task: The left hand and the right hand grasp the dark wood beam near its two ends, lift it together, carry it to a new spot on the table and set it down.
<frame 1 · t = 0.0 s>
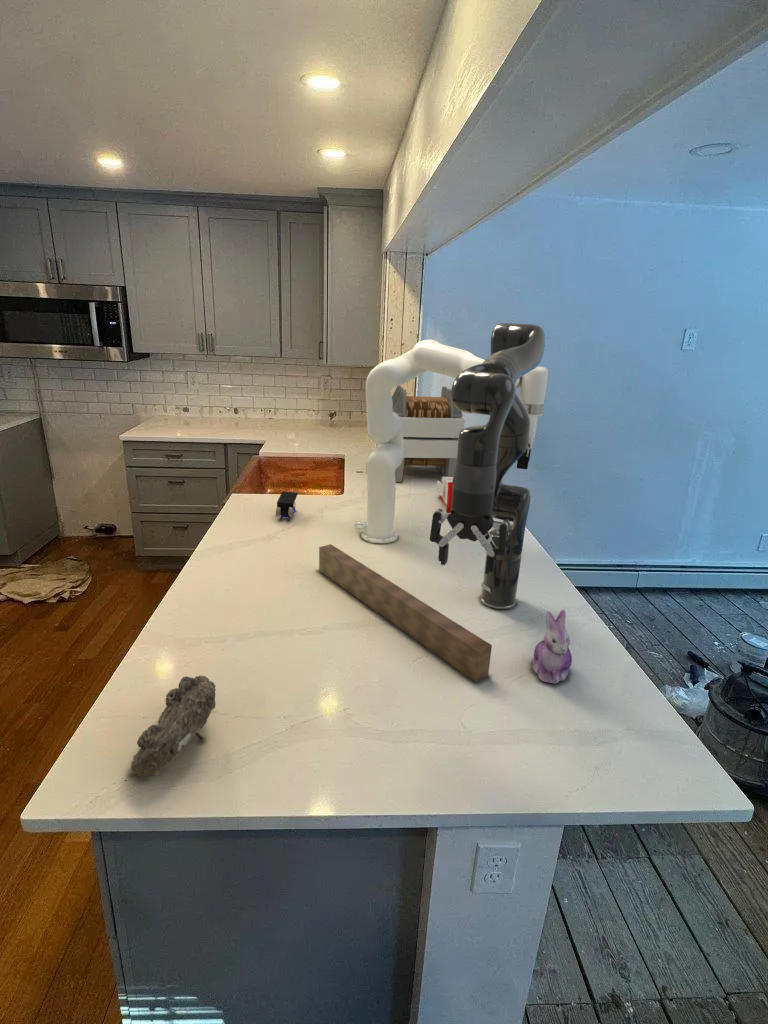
left hand: (523, 464, 174), 31 cm above the counter, tool pointing down, fingers open, 9 cm apart
right hand: (465, 568, 107), 29 cm above the counter, tool pointing down, fingers open, 8 cm apart
toy: (452, 506, 231), on the counter
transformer: (419, 473, 275), on the counter
figurine: (551, 672, 126), on the counter
fossil: (182, 737, 103), on the counter
figurine character: (287, 516, 212), on the counter
beam: (390, 615, 147), on the counter
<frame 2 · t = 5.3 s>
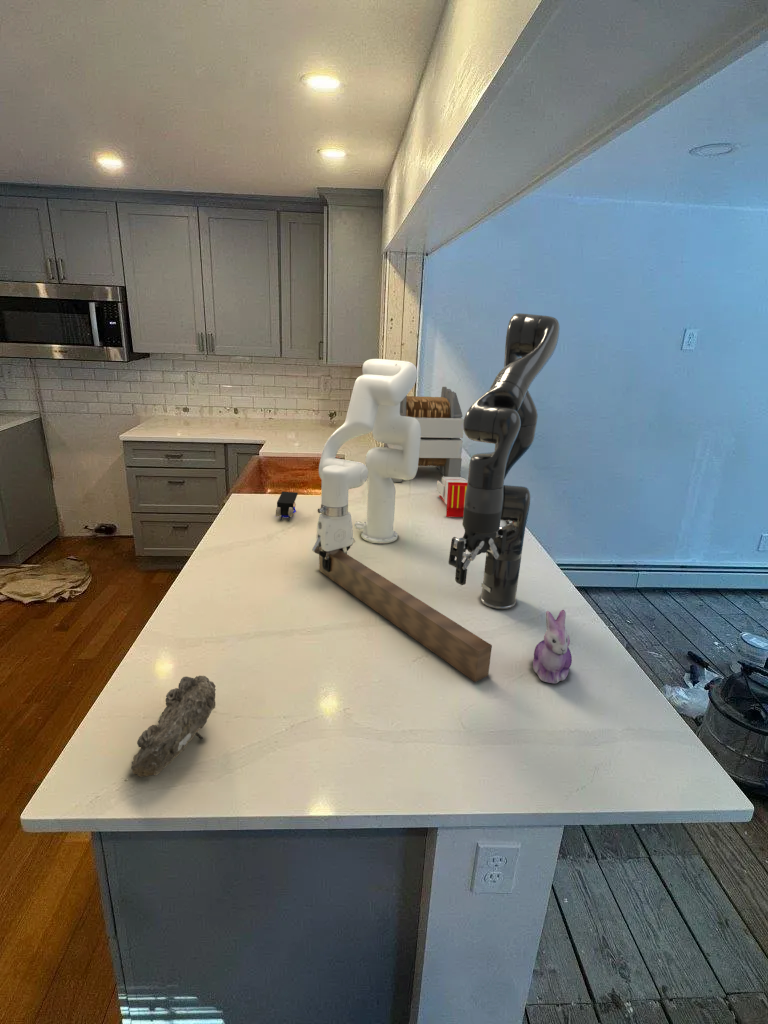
left hand: (333, 567, 166), 3 cm above the counter, tool pointing down, fingers closed on beam, 4 cm apart
right hand: (475, 578, 119), 22 cm above the counter, tool pointing down, fingers open, 8 cm apart
beam: (390, 615, 147), on the counter, touching left hand
everything else where it was.
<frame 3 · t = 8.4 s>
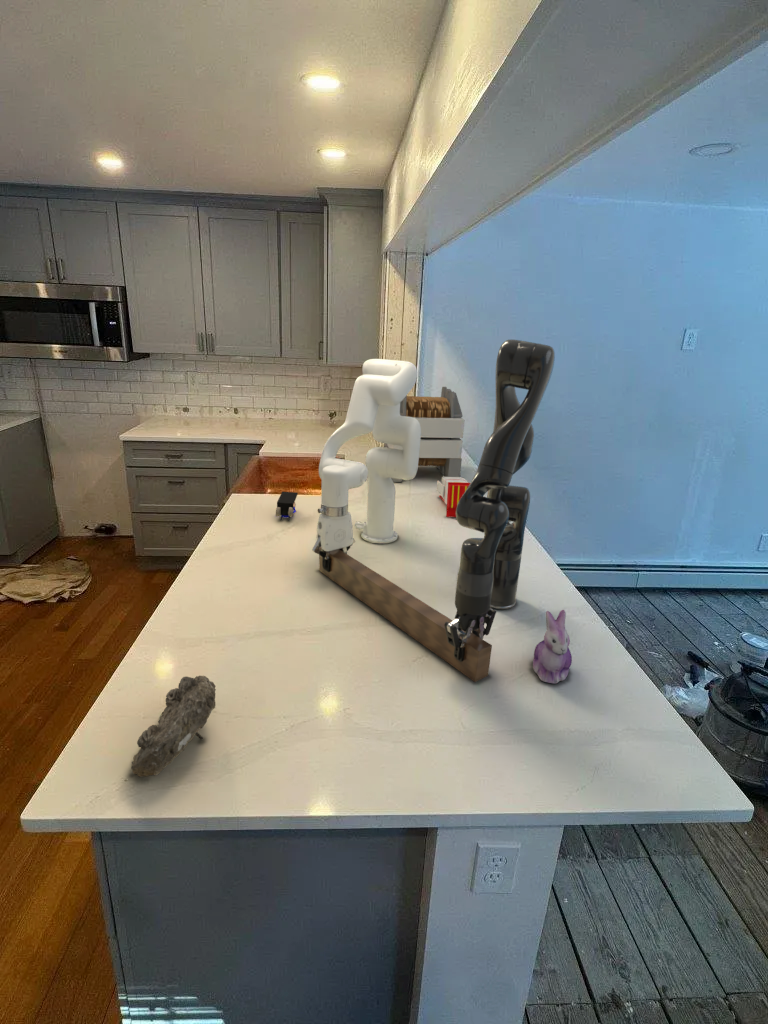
left hand: (333, 567, 166), 3 cm above the counter, tool pointing down, fingers closed on beam, 4 cm apart
right hand: (466, 655, 126), 3 cm above the counter, tool pointing down, fingers closed on beam, 4 cm apart
beam: (390, 615, 147), on the counter, touching left hand, right hand
everything else where it was.
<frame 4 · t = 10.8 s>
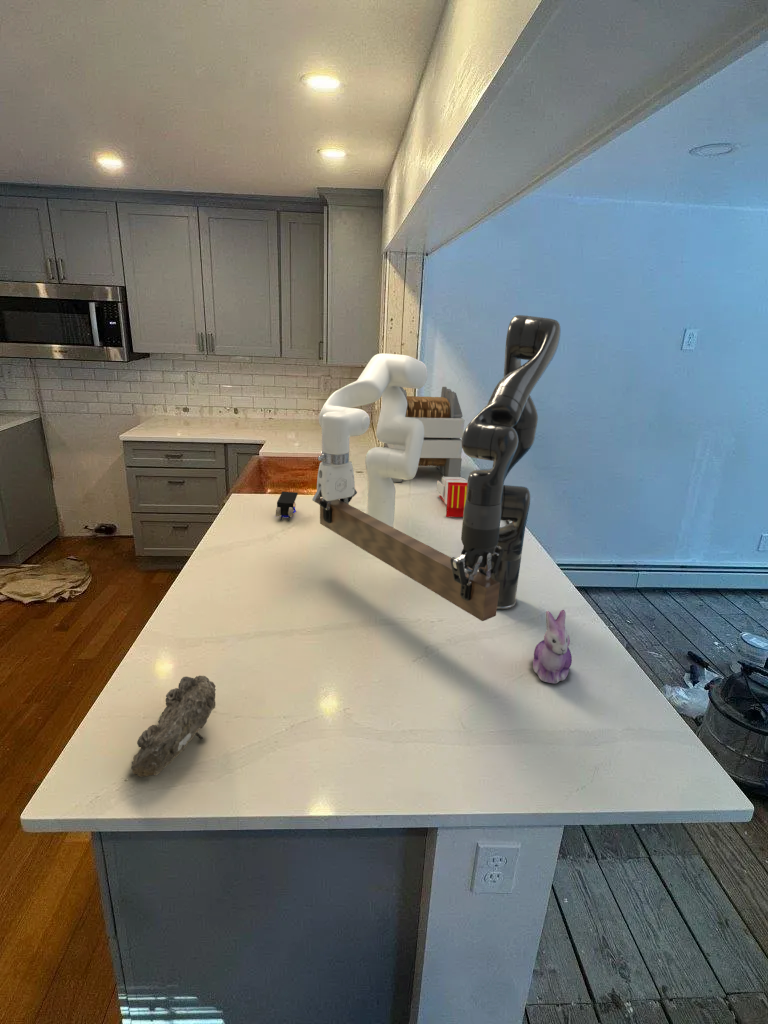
left hand: (335, 519, 161), 18 cm above the counter, tool pointing down, fingers closed on beam, 4 cm apart
right hand: (473, 595, 121), 18 cm above the counter, tool pointing down, fingers closed on beam, 4 cm apart
beam: (393, 562, 142), point 15 cm above the counter, touching left hand, right hand
everything else where it was.
when the left hand's fingers open (4 cm above the counter, at t = 16.7 s): beam drops 1 cm, on the counter.
when the right hand's fingers open (4 cm above the counter, at t = 16.8 s): beam stays where it is, on the counter.
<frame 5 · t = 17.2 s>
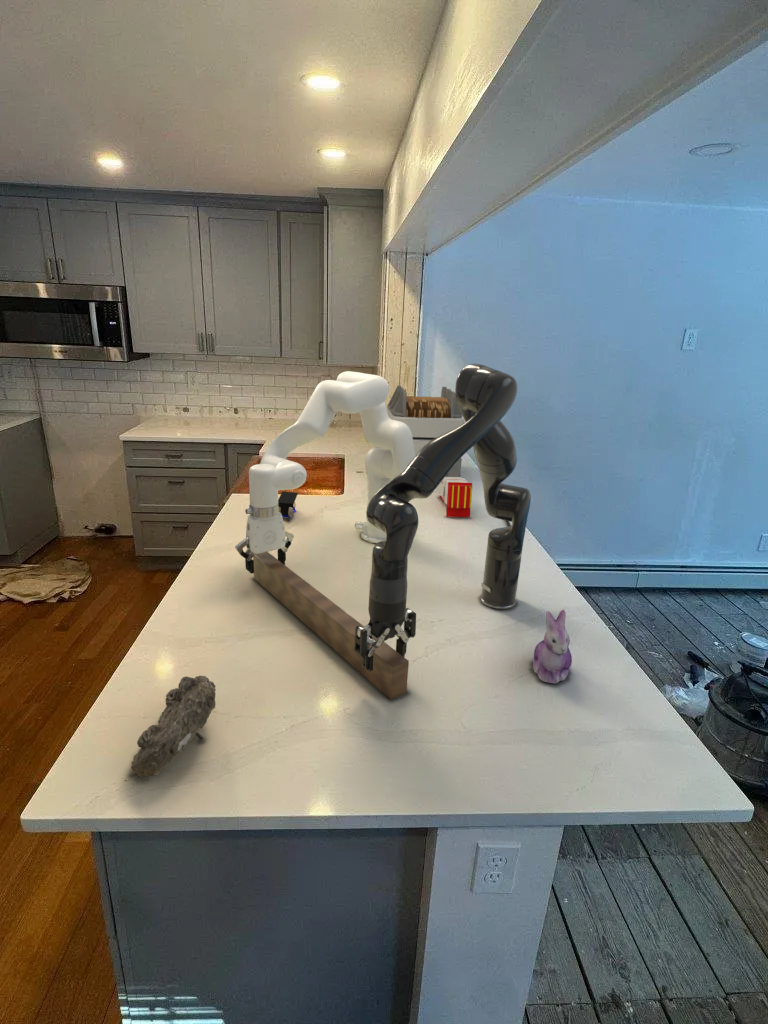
left hand: (266, 567, 159), 5 cm above the counter, tool pointing down, fingers open, 9 cm apart
right hand: (384, 662, 118), 5 cm above the counter, tool pointing down, fingers open, 8 cm apart
beam: (317, 626, 140), on the counter
everything else where it was.
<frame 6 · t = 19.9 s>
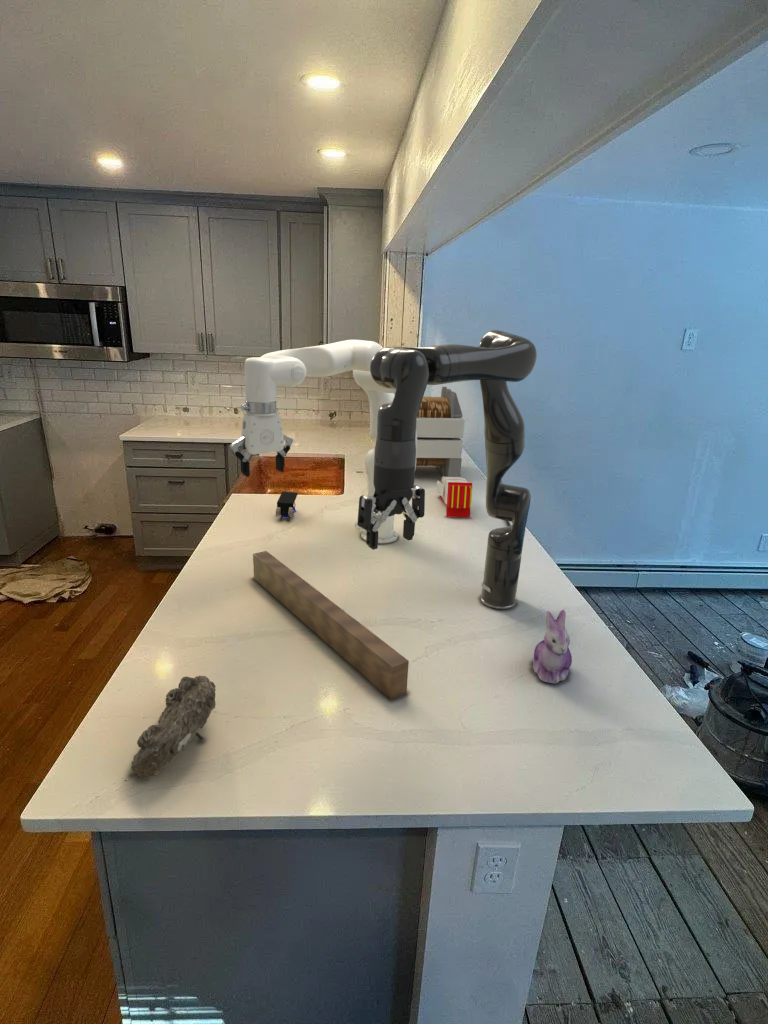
left hand: (263, 473, 149), 32 cm above the counter, tool pointing down, fingers open, 9 cm apart
right hand: (390, 543, 109), 32 cm above the counter, tool pointing down, fingers open, 8 cm apart
nothing on the counter moved.
at the end: beam inside the target area (0.2 cm from its centre), on the counter; beam tilted 0°; beam never tilted more than 2° during the clip; both hands held the beam at the same time; the left hand is holding nothing; the right hand is holding nothing; beam at rest at the end (0.0 cm/s) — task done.
